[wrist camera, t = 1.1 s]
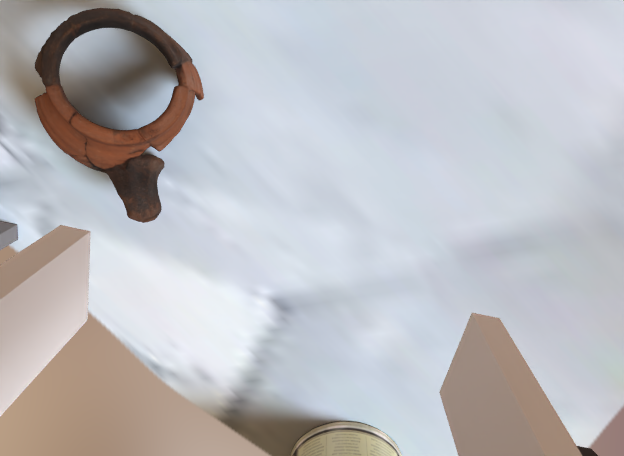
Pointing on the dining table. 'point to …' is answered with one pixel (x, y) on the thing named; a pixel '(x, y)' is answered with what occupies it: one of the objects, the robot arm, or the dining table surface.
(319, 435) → the coffee can
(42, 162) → the dining table surface
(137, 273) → the dining table surface
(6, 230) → the box
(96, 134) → the pottery mug
